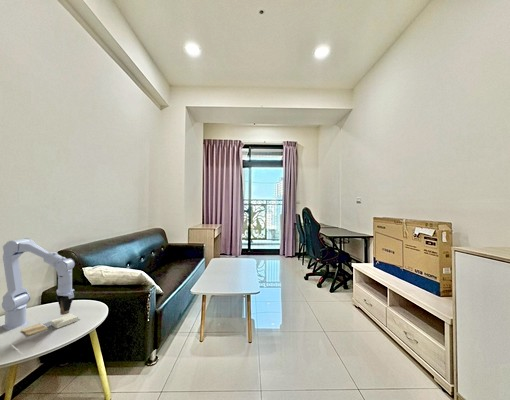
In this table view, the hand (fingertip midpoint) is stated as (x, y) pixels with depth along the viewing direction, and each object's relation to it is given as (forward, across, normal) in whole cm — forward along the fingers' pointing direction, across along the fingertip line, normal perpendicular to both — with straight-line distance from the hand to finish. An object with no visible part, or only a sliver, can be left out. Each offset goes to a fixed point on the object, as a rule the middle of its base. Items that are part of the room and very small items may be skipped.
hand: (64, 309), depth 123 cm
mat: (+7, +3, 0) cm, 8 cm away
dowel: (+2, 0, 0) cm, 2 cm away
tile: (+6, +4, 0) cm, 7 cm away
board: (+7, +5, +10) cm, 14 cm away
